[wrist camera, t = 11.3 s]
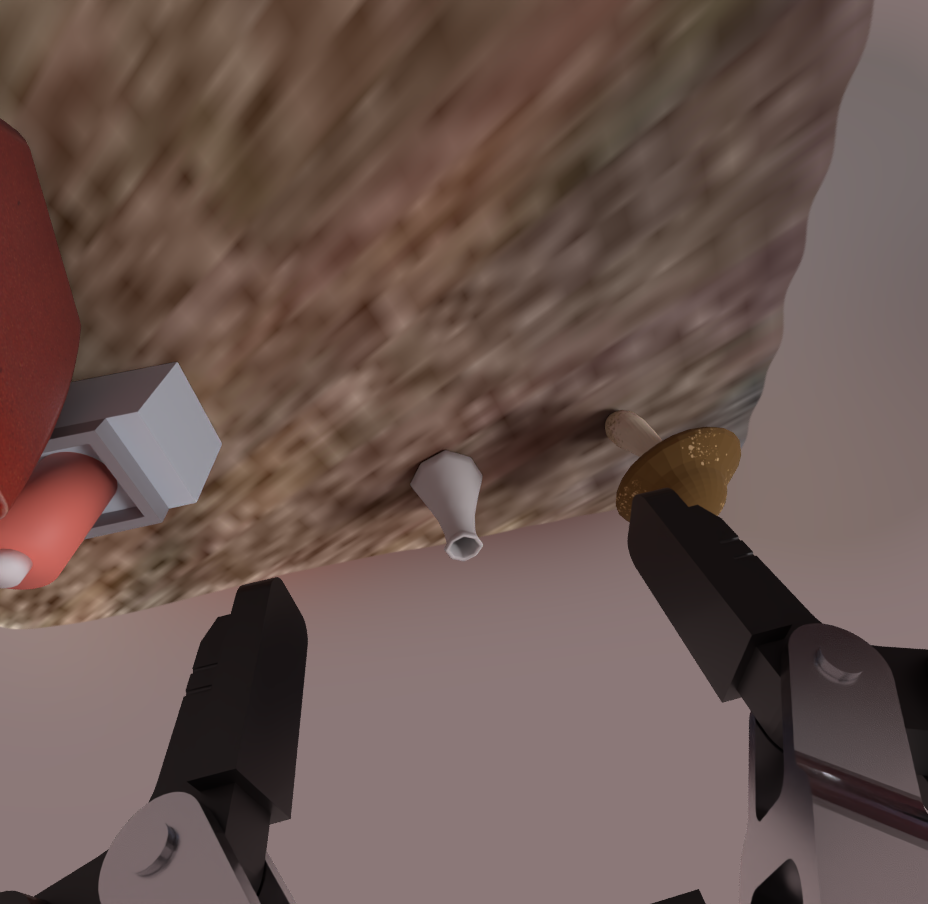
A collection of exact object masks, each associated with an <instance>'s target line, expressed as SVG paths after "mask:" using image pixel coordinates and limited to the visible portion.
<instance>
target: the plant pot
mask: <svg viewBox="0 0 928 904" xmlns="http://www.w3.org/2000/svg"><path fill="white" fill-rule="evenodd" d="M80 331H81V324H80V320H79V316H78V313H77V309H76V306H75V303H74V299H73V296H72V292H71V289H70V285H69V282H68V278H67V275H66V272H65V268H64V265H63V261H62V258H61V255H60V251H59V248H58V244H57V241H56V238H55V234H54V231H53V227H52V224H51V220H50V217H49V213H48V210H47V206H46V203H45V199H44V196H43V193H42V190H41V186H40V183H39V179H38V176H37V172H36V169H35V165H34V162H33V158H32V155H31V151H30V148H29V146H28V144H27V142H26V141H25V139H24V138H23V137H22V136H21V135H20V133H19V132H18V131H16V130H15V129H14V128H12V127H11V126H10V125H9V124H7V123H6V122H5V121H3V120H2V119H0V520H1V519H2V518H4V517H5V516H6V514H7V513H8V511H9V510H10V509H11V507H12V506H13V504H14V503H15V501H16V499H17V498H18V496H19V494H20V493H21V491H22V490H23V488H24V486H25V484H26V483H27V481H28V479H29V477H30V475H31V474H32V472H33V470H34V468H35V466H36V465H37V463H38V461H39V459H40V457H41V455H42V453H43V451H44V449H45V447H46V445H47V443H48V441H49V439H50V437H51V435H52V432H53V430H54V428H55V425H56V423H57V420H58V418H59V416H60V413H61V411H62V408H63V405H64V402H65V400H66V397H67V394H68V391H69V387H70V384H71V380H72V376H73V372H74V367H75V363H76V358H77V353H78V347H79V340H80Z"/></svg>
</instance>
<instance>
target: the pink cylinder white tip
mask: <svg viewBox="0 0 928 904" xmlns="http://www.w3.org/2000/svg"><path fill="white" fill-rule="evenodd" d="M117 486H118V485H117V480H116V478H115V477H114V476H113V474H112V473H111V472H110V470H109V469H108V468H107V466H106V465H105V464H103V463H102V462H100V461H99V460H97V459H95V458H93V457H90V456H88V455H85V454H81V453H76V452H58V453H53V454H50V455H48V456H46V457H44V458H43V459H42V460H41V461H40V462H39V463H38V464H37V465H36V466H35V468H34V470H33V472H32V474H31V475H30V477H29V479H28V481H27V483H26V484H25V486H24V488H23V490H22V491H21V493H20V494H19V496H18V498H17V499H16V501H15V503H14V504H13V506H12V507H11V509H10V510H9V511H8V513H7V514H6V516H5V517H4V518H2V519H1V520H0V588H8V589H34V588H39V587H43V586H45V585H48V584H50V583H51V582H53V581H54V580H55V579H56V578H57V577H58V576H59V574H60V573H61V572H62V570H63V569H64V567H65V566H66V564H67V563H68V561H69V560H70V559H71V557H72V556H73V554H74V553H75V551H76V550H77V548H78V547H79V546H80V544H81V543H82V541H83V540H84V538H85V537H86V535H87V534H88V533H89V531H90V530H91V528H92V527H93V525H94V524H95V522H96V521H97V519H98V518H99V517H100V515H101V514H102V512H103V511H104V509H105V508H106V506H107V505H108V504H109V502H110V501H111V499H112V498H113V496H114V495H115V493H116V491H117Z"/></svg>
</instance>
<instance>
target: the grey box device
mask: <svg viewBox="0 0 928 904" xmlns="http://www.w3.org/2000/svg"><path fill="white" fill-rule="evenodd" d="M221 445H222V443H221V441H220V439H219V437H218V435H217V434H216V432H215V430H214V428H213V426H212V424H211V423H210V421H209V419H208V417H207V415H206V413H205V412H204V410H203V408H202V406H201V404H200V402H199V401H198V399H197V397H196V395H195V393H194V391H193V390H192V388H191V386H190V384H189V382H188V380H187V379H186V377H185V375H184V373H183V371H182V369H181V368H180V366H179V364H178V362H173V363H168V364H163V365H158V366H153V367H148V368H142V369H137V370H132V371H127V372H122V373H116V374H111V375H106V376H101V377H96V378H91V379H85V380H80V381H75V382H71V384H70V387H69V391H68V394H67V397H66V400H65V402H64V405H63V408H62V411H61V413H60V416H59V418H58V420H57V423H56V425H55V428H54V430H53V432H52V435H51V437H50V439H49V441H48V443H47V445H46V447H45V449H44V451H43V453H42V455H41V457H40V459H39V461H38V463H39V462H40V461H41V460H42V459H43V458H44V457H46V456H48V455H50V454H53V453H58V452H76V453H81V454H85V455H88V456H90V457H93V458H95V459H97V460H99V461H100V462H102V463H103V464H105V465H106V466H107V468H108V469H109V470H110V472H111V473H112V474H113V476H114V477H115V478H116V480H117V485H118V486H117V491H116V493H115V495H114V496H113V498H112V499H111V501H110V502H109V504H108V505H107V506H106V508H105V509H104V511H103V512H102V514H101V515H100V517H99V518H98V519H97V521H96V522H95V524H94V525H93V527H92V528H91V530H90V531H89V533H88V534H87V535H86V537H85V538H84V539H88V538H93V537H97V536H102V535H107V534H111V533H116V532H120V531H125V530H129V529H134V528H138V527H143V526H148V525H152V524H157V523H161V522H163V520H164V518H165V516H166V514H167V512H168V510H169V508H174V507H178V506H183V505H187V504H192V503H196V502H197V500H198V498H199V496H200V493H201V491H202V489H203V486H204V484H205V482H206V480H207V477H208V475H209V473H210V470H211V468H212V466H213V464H214V461H215V459H216V457H217V454H218V452H219V450H220V448H221ZM38 463H37V464H38Z"/></svg>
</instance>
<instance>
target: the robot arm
mask: <svg viewBox="0 0 928 904" xmlns="http://www.w3.org/2000/svg"><path fill="white" fill-rule="evenodd" d="M628 549H629V553H630V556H631V559H632V561H633V563H634V565H635V567H636V569H637V570H638V572H639V573H640V575H641V576H642V578H643V579H644V581H645V583H646V584H647V586H648V587H649V589H650V590H651V592H652V594H653V595H654V597H655V598H656V600H657V601H658V603H659V605H660V606H661V608H662V609H663V611H664V612H665V614H666V615H667V617H668V619H669V620H670V622H671V623H672V625H673V626H674V628H675V630H676V631H677V632H678V634H679V636H680V637H681V639H682V641H683V642H684V644H685V645H686V647H687V648H688V650H689V651H690V653H691V655H692V656H693V658H694V659H695V661H696V662H697V664H698V665H699V667H700V669H701V670H702V672H703V673H704V675H705V676H706V678H707V680H708V681H709V683H710V684H711V686H712V687H713V689H714V691H715V692H716V694H717V695H718V697H719V698H720V700H721V701H722V702H726V701H729V700H734V699H737V698H740V697H742V698H743V700H744V701H745V703H746V704H747V706H748V707H749V709H750V710H751V712H750V716H749V774H748V775H749V777H748V779H749V780H748V824H747V832H746V837H745V840H744V844H743V849H742V856H741V865H740V889H739V904H928V814H927V812H926V810H925V808H926V809H927V810H928V650H926V649H911V648H896V647H882V646H874V645H870V644H869V643H867V642H866V641H865V640H863V639H862V638H860V637H859V636H857V635H855V634H853V633H851V632H849V631H847V630H844V629H842V628H839V627H836V626H833V625H828V624H822V623H821V622H820V621H819V620H817V619H816V618H815V617H814V616H813V615H812V614H811V613H810V612H809V611H808V610H807V609H806V608H805V607H804V605H803V604H802V603H801V602H800V601H799V600H798V599H797V598H796V597H795V596H794V595H793V594H792V593H791V592H790V591H789V590H788V589H787V587H786V586H785V585H784V584H783V583H782V582H781V581H780V580H779V579H778V578H777V577H776V576H775V575H774V574H773V573H772V572H771V570H770V569H769V568H768V567H767V566H766V565H765V564H764V563H763V562H762V561H761V560H760V559H759V558H758V557H757V556H754V555H753V552H752V550H751V549H750V548H749V547H748V546H747V545H746V544H745V543H744V542H743V541H742V540H741V541H740V540H739V538H738V535H736V533H734V531H733V530H732V529H731V528H730V527H729V526H728V525H727V524H726V523H725V522H724V521H723V520H722V519H721V518H720V517H718V516H716V515H715V514H713V513H711V512H710V511H708V510H706V509H704V508H703V507H701V506H699V505H694V506H690V507H688V506H687V505H686V503H685V502H684V501H683V500H682V499H681V498H680V497H679V496H678V494H677V493H676V492H675V491H674V490H672V489H671V488H663V489H658V490H654V491H650V492H646V493H641V494H637V495H635V496H634V497H633V501H632V508H631V516H630V525H629V533H628ZM307 646H308V637H307V629H306V624H305V621H304V618H303V616H302V615H301V613H300V611H299V609H298V607H297V606H296V604H295V602H294V600H293V599H292V597H291V595H290V593H289V592H288V590H287V588H286V586H285V585H284V583H283V581H282V580H281V579H280V578H278V577H275V578H271V579H267V580H262V581H258V582H254V583H250V584H245V585H242V586H240V587H239V589H238V590H237V593H236V596H235V600H234V604H233V608H232V611H231V614H229V615H225V616H221V617H218V618H217V619H216V621H215V622H214V623H213V625H212V626H211V628H210V629H209V631H208V632H207V634H206V635H205V637H204V638H203V640H202V641H201V643H200V646H199V649H198V652H197V655H196V659H195V662H194V665H193V674H191V675H190V678H189V681H188V685H187V688H186V696H185V697H184V698H183V701H182V704H181V707H180V710H179V714H178V717H177V720H176V723H175V727H174V730H173V733H172V736H171V740H170V743H169V746H168V749H167V752H166V756H165V759H164V762H163V766H162V769H161V772H160V775H159V778H158V781H157V784H156V787H155V790H154V792H153V794H152V796H151V798H150V800H149V803H148V804H146V805H145V806H144V807H142V808H141V809H140V810H139V811H137V812H136V813H135V814H134V815H133V816H132V817H131V818H130V819H129V820H128V822H127V823H126V824H125V825H124V826H123V828H122V829H121V830H120V832H119V833H118V835H117V836H116V837H115V839H114V841H113V842H112V844H111V846H110V848H109V849H108V850H107V851H105V852H104V853H103V854H101V855H100V856H98V857H97V858H95V859H94V860H92V861H90V862H89V863H87V864H85V865H84V866H82V867H80V868H79V869H77V870H76V871H74V872H72V873H71V874H69V875H68V876H66V877H64V878H63V879H61V880H60V881H58V882H56V883H55V884H53V885H51V886H50V887H48V888H47V889H45V890H43V891H42V892H40V893H39V894H37V895H35V896H34V897H33V896H30V895H26V894H23V893H20V892H17V891H5V892H0V904H297V903H296V902H295V900H294V898H293V896H292V895H291V893H290V891H289V889H288V888H287V886H286V884H285V882H284V881H283V879H282V877H281V875H280V874H279V872H278V870H277V868H276V867H275V865H274V863H273V861H272V860H271V858H270V856H269V854H268V853H267V852H266V848H267V841H268V832H269V825H270V824H273V823H277V822H281V821H284V820H288V819H291V809H292V799H293V788H294V778H295V768H296V758H297V747H298V737H299V728H300V718H301V708H302V697H303V687H304V677H305V667H306V657H307ZM924 806H925V808H924ZM652 904H705V902H704V899H703V897H702V895H701V893H700V891H699V889H698V890H694V891H691V892H688V893H685V894H682V895H678V896H675V897H672V898H668V899H665V900H662V901H659V902H655V903H652Z"/></svg>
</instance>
